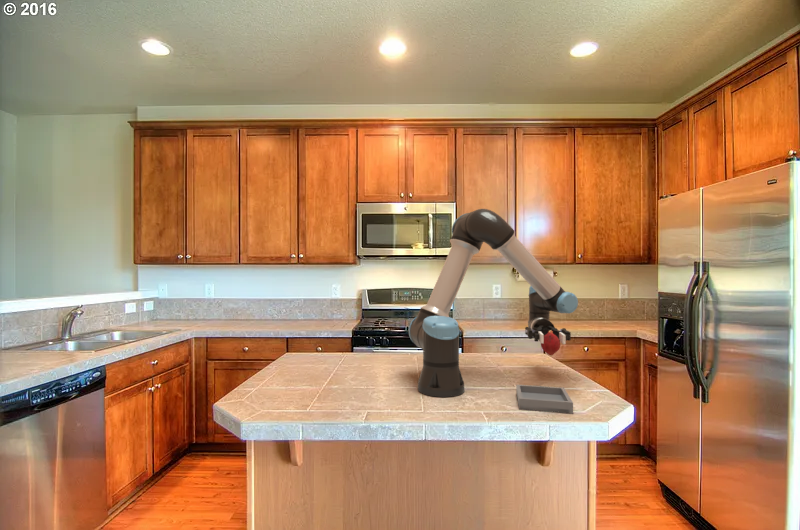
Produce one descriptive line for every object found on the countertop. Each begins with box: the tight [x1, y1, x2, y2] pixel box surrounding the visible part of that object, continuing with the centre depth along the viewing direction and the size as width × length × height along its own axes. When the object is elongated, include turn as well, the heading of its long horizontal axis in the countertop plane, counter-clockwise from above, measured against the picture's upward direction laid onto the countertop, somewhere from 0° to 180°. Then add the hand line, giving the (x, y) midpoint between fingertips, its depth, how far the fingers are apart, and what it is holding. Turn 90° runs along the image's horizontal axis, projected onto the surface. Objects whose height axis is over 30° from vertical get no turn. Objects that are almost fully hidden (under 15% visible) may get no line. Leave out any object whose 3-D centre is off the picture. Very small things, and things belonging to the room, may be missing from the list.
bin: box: [515, 384, 574, 415], centre depth 112 cm, size 14×14×3 cm
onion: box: [540, 330, 561, 356], centre depth 122 cm, size 6×6×8 cm
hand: (553, 339), depth 117 cm, fingers closed on onion, 6 cm apart
